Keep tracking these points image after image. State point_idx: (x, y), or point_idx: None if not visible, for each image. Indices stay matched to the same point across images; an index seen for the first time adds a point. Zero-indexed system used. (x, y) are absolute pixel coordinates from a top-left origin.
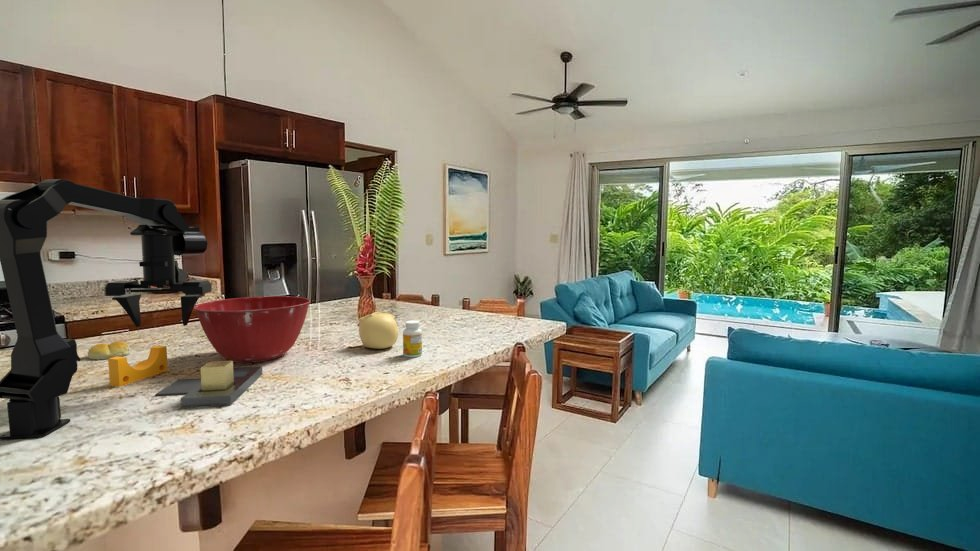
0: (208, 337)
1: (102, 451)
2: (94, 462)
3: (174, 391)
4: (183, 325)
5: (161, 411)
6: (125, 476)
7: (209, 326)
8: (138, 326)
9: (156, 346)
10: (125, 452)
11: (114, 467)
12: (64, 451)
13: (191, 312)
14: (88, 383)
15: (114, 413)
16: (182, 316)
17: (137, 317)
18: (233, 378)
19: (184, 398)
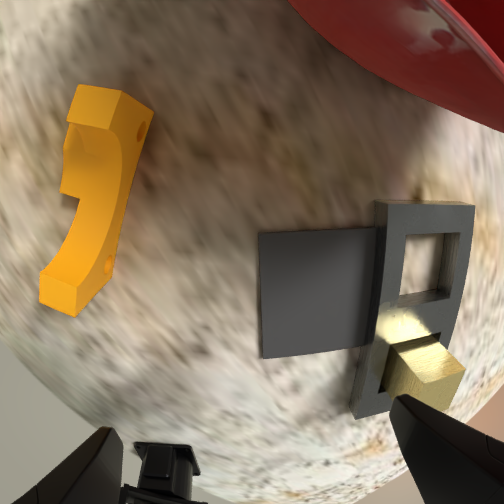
0: (302, 7)
1: (302, 485)
2: (307, 494)
3: (303, 344)
4: (390, 418)
5: (319, 418)
6: (345, 496)
7: (382, 41)
8: (121, 445)
9: (81, 101)
10: (327, 483)
11: (330, 494)
12: (259, 488)
13: (472, 430)
14: (21, 238)
15: (237, 425)
16: (415, 473)
17: (106, 492)
18: (440, 345)
19: (361, 417)
